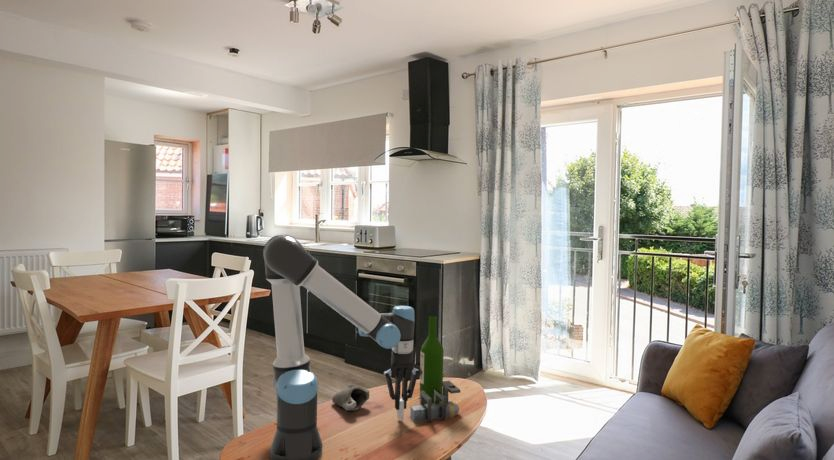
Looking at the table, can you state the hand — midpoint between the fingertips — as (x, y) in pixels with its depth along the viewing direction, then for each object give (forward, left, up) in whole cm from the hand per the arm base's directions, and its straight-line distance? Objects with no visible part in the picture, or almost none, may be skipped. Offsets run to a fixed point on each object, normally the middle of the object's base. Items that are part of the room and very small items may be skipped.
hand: (400, 418), depth 169 cm
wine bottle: (+17, +15, -1) cm, 23 cm away
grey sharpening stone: (+12, 0, -1) cm, 12 cm away
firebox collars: (+15, +1, -1) cm, 15 cm away
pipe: (-14, +17, -1) cm, 22 cm away
